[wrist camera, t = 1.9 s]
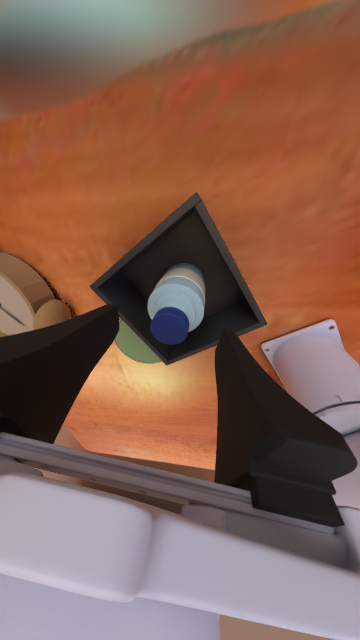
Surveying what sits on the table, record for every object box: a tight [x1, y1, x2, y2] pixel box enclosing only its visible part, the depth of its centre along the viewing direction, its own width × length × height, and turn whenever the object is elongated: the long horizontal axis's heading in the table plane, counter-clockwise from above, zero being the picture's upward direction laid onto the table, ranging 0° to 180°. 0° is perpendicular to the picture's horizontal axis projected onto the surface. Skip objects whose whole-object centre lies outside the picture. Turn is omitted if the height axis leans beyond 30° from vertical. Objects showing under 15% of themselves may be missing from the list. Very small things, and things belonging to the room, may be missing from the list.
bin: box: [90, 193, 267, 365], centre depth 16 cm, size 11×11×5 cm
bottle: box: [148, 263, 205, 345], centre depth 15 cm, size 5×5×9 cm
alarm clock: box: [0, 252, 71, 337], centre depth 22 cm, size 11×5×15 cm
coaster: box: [115, 320, 162, 363], centre depth 24 cm, size 9×9×1 cm
